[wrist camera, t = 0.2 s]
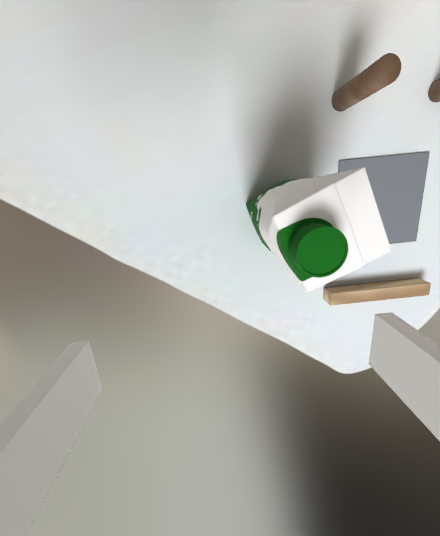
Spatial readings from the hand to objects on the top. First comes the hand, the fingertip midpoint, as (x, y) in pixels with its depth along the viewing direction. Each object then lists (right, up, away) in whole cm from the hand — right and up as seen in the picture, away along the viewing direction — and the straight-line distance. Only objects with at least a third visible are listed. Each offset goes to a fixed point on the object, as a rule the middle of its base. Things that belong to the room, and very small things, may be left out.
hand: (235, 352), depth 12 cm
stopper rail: (+25, 0, +30) cm, 39 cm away
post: (+16, +26, +22) cm, 37 cm away
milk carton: (+8, +12, +26) cm, 30 cm away
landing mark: (+23, +14, +26) cm, 37 cm away
